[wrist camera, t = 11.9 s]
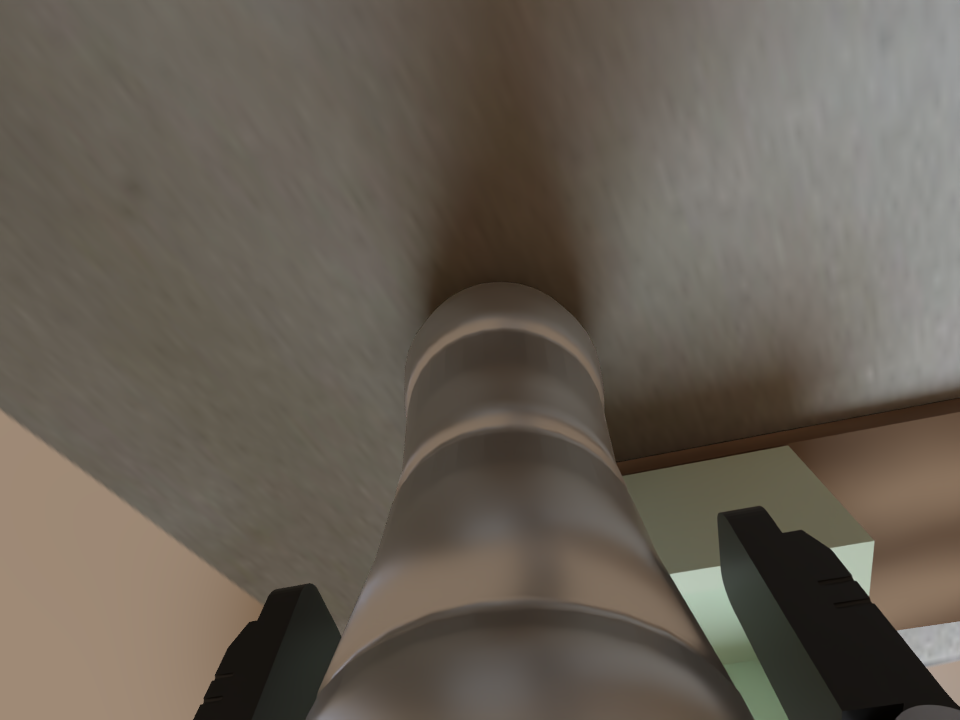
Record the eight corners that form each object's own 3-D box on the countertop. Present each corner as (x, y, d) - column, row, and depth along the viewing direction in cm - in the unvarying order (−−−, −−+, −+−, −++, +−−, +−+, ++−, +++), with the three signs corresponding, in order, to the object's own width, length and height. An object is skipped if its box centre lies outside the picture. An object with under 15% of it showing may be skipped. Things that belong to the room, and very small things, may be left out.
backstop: (441, 495, 23) (411, 750, 14) (1047, 381, 20) (1509, 603, 11) (502, 671, 28) (509, 944, 19) (994, 599, 25) (1282, 875, 16)
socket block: (486, 501, 22) (486, 603, 17) (788, 445, 20) (874, 540, 16) (541, 683, 27) (552, 800, 22) (786, 648, 25) (852, 765, 21)
